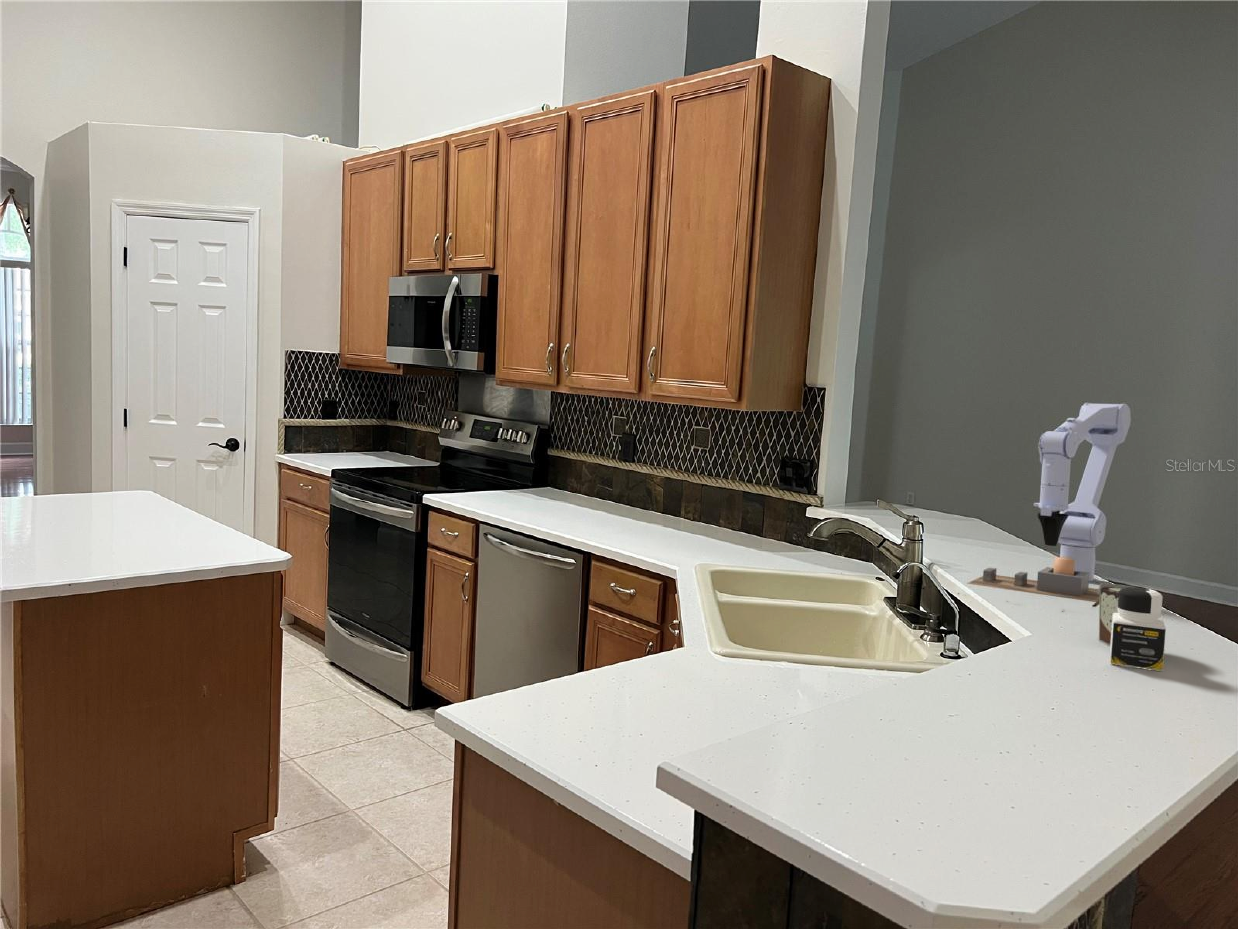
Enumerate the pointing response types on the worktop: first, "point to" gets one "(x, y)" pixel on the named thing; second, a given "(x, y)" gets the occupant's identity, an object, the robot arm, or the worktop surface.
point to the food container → (1107, 609)
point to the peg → (1064, 565)
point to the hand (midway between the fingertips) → (1050, 545)
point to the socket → (1063, 582)
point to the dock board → (1027, 585)
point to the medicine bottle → (1138, 629)
